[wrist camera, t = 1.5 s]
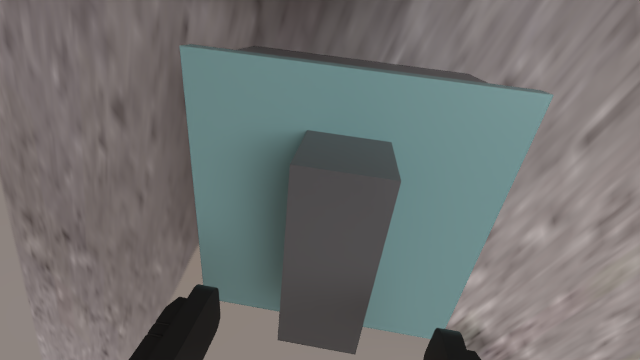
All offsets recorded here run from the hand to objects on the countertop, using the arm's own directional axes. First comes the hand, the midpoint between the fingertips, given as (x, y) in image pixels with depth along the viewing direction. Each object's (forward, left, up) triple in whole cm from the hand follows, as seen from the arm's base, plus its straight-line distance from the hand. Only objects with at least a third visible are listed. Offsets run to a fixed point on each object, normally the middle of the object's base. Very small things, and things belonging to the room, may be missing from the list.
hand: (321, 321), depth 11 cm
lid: (0, 0, -8) cm, 8 cm away
